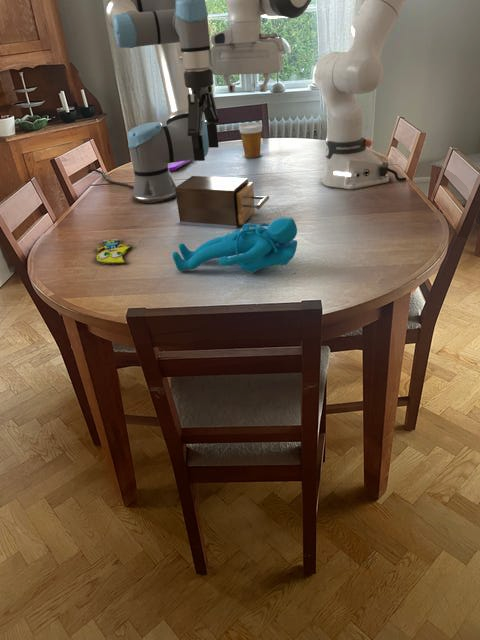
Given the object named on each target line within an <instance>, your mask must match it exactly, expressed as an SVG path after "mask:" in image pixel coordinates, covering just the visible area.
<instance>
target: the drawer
mask: <svg viewBox="0 0 480 640" xmlns="http://www.w3.org/2000/svg"><path fill="white" fill-rule="evenodd" d="M255 200H260V201H259V202H258V203H257V204H255ZM269 200H270V196H269V195H265V196H257V195H255V190H254V182H252V181H251V182H249V181H248V184H247V185H246V186H245V187H244V188H243V186H242V187H241V188H240V189H239V190H238V191H237V192H236V193H235V202H236V213H237V219H239V224H240V225H241V226H243V225H244V224H246V222H247V221H248V220H249V219H250V218H251V216H253V214H255V212H256V210H260V209H261V208H262V207H263V206H264V205H266V203H267V202H268V201H269Z"/></svg>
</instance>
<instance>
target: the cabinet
mask: <svg viewBox="0 0 480 640" xmlns="http://www.w3.org/2000/svg"><path fill="white" fill-rule="evenodd" d="M248 183H249V178H248V177H232V176H231V177H228V176H227V177H226V176H203V175H202V176H201V175H191V176H190V177H189V178H187V179H185V180H184V181H183V182H181V183H179V184H178V185H176V187H175V192H176V196H175V199H176V206H177V210H178V216H179V217H178V219H179V224H180V225H189V226H199V227H200V226H201V227H213V228H225V229H227V228H228V229H237V228H238V227H239V226H240V225H241V224H239V219H237V213H236V202H235V193H236V192H237V191H238V190H239V189H240V188H241V187H242V186H243V188H244V187H245V186H246V185H247V184H248Z"/></svg>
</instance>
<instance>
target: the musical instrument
mask: <svg viewBox="0 0 480 640" xmlns="http://www.w3.org/2000/svg"><path fill="white" fill-rule="evenodd" d="M191 161H193V160H187V161H181V162H174V163H171V164H168V169H169V172H172V171H176V170H177V169H178V168H180V167H182V166H183V165H185V164H187V163H189V162H191Z"/></svg>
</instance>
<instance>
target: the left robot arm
mask: <svg viewBox="0 0 480 640" xmlns="http://www.w3.org/2000/svg"><path fill="white" fill-rule="evenodd" d="M105 17H106V20H107V22H108V24H109V26H110V27H111V28H112V29H113V34H114V38H115V41H116V45H117V46H118V47H119V48H121V49H133V48H138V47H146V46H147V47H148V46H154V49H155V55H156V58H157V64H158V67H159V68H158V69H159V72H160V73H159V74H160V77H161V82H162V87H163V91H164V96H165V101H166V106H167V111H168V117H167V119H166V120H165V123H166V125H163V124H162V123H161V122H160V121H154V122H147V123H144V124H143V123H142V124H139V125H137V126H135V127H133V128H131V129H130V130H129V131H128V133H127V141H128V144H127V145H128V149H129V152H130V158H131V163H132V164H131V165H132V168H133V173H134V181H133V185H132V184H129V183H126V182H120V181H114V180H111V179H109V178H108V177H107V176H106V175H105V172H104V171H102V170H99V169H96V168H89V169H88V170H87V174H90V173H91V172H95V173H98V174H101V176H102V178H103V179H104V180H105V181H106V182H107V183H109V184H111V185H112V184H113V185H117V186H122V187H127V188H130V189H133V191H132V197H133V200H134V201H135V202H137V203H139V204H157V203H163V202H166V201H170V200H172V199H175V198H176V192H175V187H177V185H176V183H175V181H174V179H173V177H172V175H171V173H170V171H169V169H168V166H169V164H174V163H176V162H181V161H187V160H192V161H194V162H204V161H205V160H206V157H207V155H208V153H209V150H210V148H211V149H212V148H213V149H214V148H219V137H218V125H217V124H218V123H220V119H219V113H218V110H217V106H216V102H215V98H214V94H213V93H214V92H213V85H214V83H215V81H214V75H213V71H212V70H211V68H210V67H212V58H211V39H210V30H209V19H208V18H209V12H208V10H207V2H206V0H108V2H107V3H106V7H105ZM203 115H204V117H205V120H204V119H203Z"/></svg>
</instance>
